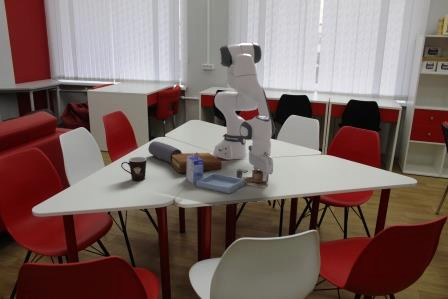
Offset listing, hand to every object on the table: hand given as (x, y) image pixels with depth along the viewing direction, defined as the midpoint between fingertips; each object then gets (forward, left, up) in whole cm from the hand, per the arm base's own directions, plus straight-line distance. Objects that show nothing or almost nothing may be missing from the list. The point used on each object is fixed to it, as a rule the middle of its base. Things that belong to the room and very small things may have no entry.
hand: (260, 177), depth 185 cm
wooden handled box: (0, 0, -3) cm, 3 cm away
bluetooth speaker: (-63, +4, -3) cm, 63 cm away
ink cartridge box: (-28, -15, -4) cm, 32 cm away
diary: (-40, +2, -3) cm, 40 cm away
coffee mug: (-55, -27, -3) cm, 62 cm away
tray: (-14, -13, -3) cm, 20 cm away
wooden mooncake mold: (0, 0, -1) cm, 1 cm away
